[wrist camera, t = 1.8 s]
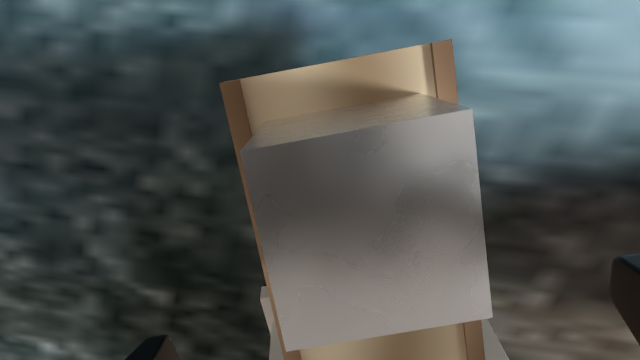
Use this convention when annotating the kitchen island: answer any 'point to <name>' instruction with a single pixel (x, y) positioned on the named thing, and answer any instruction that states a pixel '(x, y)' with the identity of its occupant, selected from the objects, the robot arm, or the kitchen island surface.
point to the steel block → (370, 219)
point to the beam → (341, 91)
